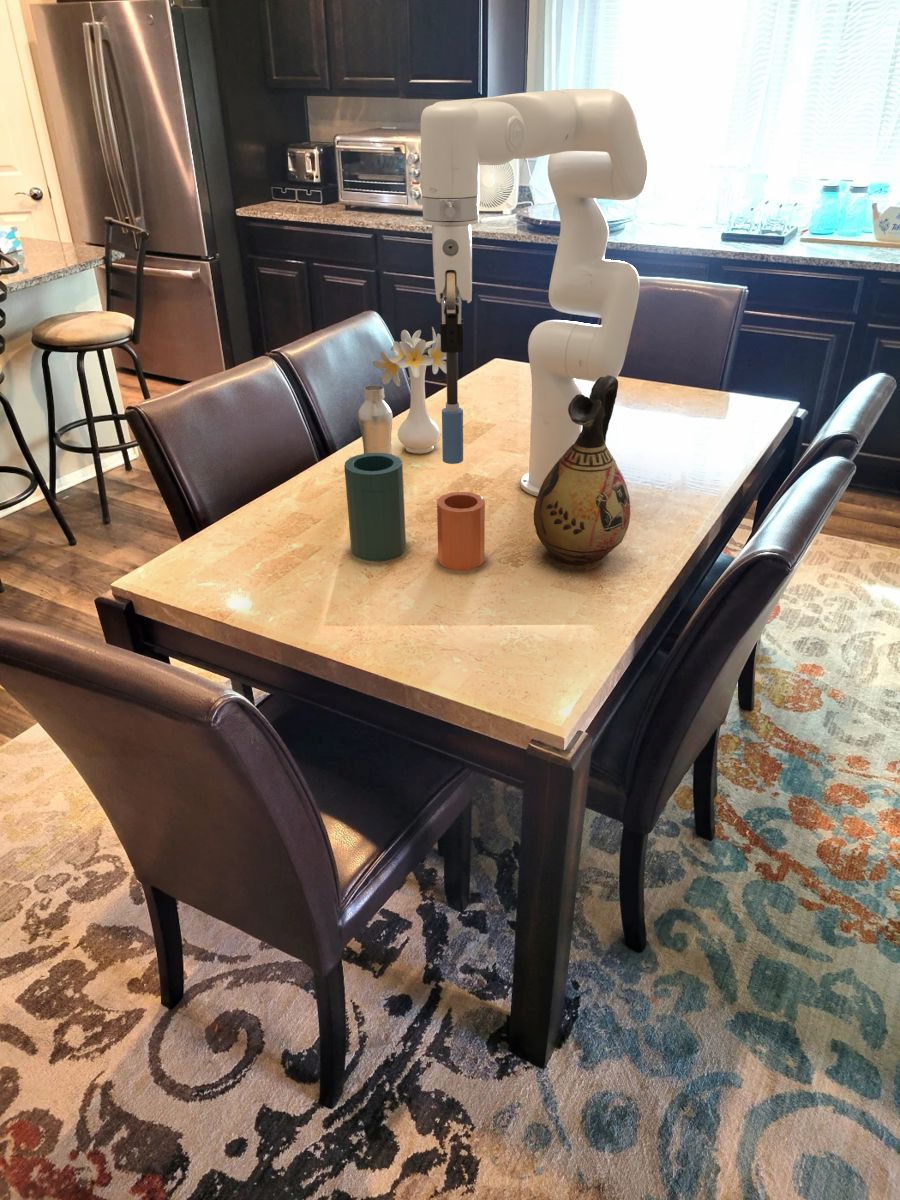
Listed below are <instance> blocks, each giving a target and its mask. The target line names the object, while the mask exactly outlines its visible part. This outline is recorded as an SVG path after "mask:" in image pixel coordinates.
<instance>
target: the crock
mask: <svg viewBox="0 0 900 1200" xmlns="http://www.w3.org/2000/svg"><path fill="white" fill-rule="evenodd" d="M436 524H437V526H436V527H437V562H438V563H439V565H440V566H442V567H443V568H446V569H448V570H453V571H469V570H474V569H477V568H479V567H480V566H482V565H483V564H484V562H485V541H486V539H485V537H486V535H485V531H486V529H485V527H486V501H485V498H484V497H483V496H481V495H480V494H477V493H474V492H470V491H469V492H468V491H454V492H449V493H445V494H442V495H441V496H440V497H438V498H437V499H436Z"/></svg>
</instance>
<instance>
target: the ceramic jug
mask: <svg viewBox="0 0 900 1200" xmlns="http://www.w3.org/2000/svg"><path fill="white" fill-rule="evenodd" d="M618 389H619V380H618V378H615V377H613V376H610V375H607V376H606V377H600V378H599V379H598V380H597V381H596V382H594V383H593V385H592V387H591V390H590V391H591V392H590V394H589V397H588V396H585V395H584V394H583V393H582V394H578V395H576V396H575V397H574V398H573V399H572V401H571V403H570V404H569V407H568V413H569V416H570V418H571V420H572V421H573V422H574V423H576V424H579V425H581V433H580V434H579V437H578V438H577V440H576V442H575V443H574V444H573V445H572V446H571V447H570V448H569V449H568V450H567V451H566V452H565V454H564V455H563V456H562V457H561V458H560V459H559V461H558V462H557V463H556V464H555V465H554V467H553V468H552V469H551V471H550V472H549V473H548V475H547V476H546V478H545V480H544V481H543V483H542V486H541V488H540V491H539V493H538V496H536V500H535V504H534V508H533V525H534V528H535V532H536V535H537V537H538V539H539V541H540V542H541V543H542V545H543V548H545V550H546V552H547V553H548V558H550V559H551V560H552V561H554V563H556V564H558V565H560V566H564V567H568V568H584V571H586V570H592V569H594V568H596V567H598V566H600V565H601V564H602V563H603V560H604V559H605V558H606V557H607V556H608V555H609V554H610V553H611V552H613V550H614V549H616V548H617V547H618V546H619V545H620V544H621V543H622V542H623V540H624V538H625V536H626V534H627V531H628V529H629V525H630V520H631V498H630V494H629V490H628V485H627V483H626V480H625V478H624V476H623V474H622V471H621V470H620V468H619V466H618V464H617V461H616V460H615V458H614V456H613V455H612V453H611V451H610V450H609V447H608V446H607V444H606V442H607V434H608V431H609V426H610V422H611V419H612V416H613V411H614V407H615V405H616V399H617V396H618Z"/></svg>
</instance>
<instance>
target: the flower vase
mask: <svg viewBox="0 0 900 1200" xmlns="http://www.w3.org/2000/svg"><path fill="white" fill-rule="evenodd" d="M431 330H432V332H431V333H432V340H430V341H426V340H425V339H422V338H421V337H420V336H421V334H422V330H421V329H418V330H416V331H415V332H414V333H413V335H412V336H411V335H410V333H409V331H408V330H407V329H403V330H401V333H400V340H401V341H396V340H395V341H394V342H393V344H392V346H391V347H390V351H391V352H394V353H395V354H394V355H392V356H391V357H389V356H388V355H387V354H386V353H385V352H384V351H381V352H380V358H381V360H373V361H372V365H373V367H375V368H376V369H378V370H380V371H383V373H382V374H381V382H382V383H383V385H389V383H390V381H393V383H394V385H396V387H399V388H400V387H401V379H400V376H399V372H400V371H401V369H407V370H408V375H409V383H410V403H409V411H408V414H407V417H406V419H404V421H403V422H402V423H401V424H400V426H399V428H398V429H397V430H398V431H397V439H398V440H399V441H398V442H400V443H401V445H403V446H404V447H405V451H407V453H411V454H416V455H417V454H418V455H421V454H427V453H430V452H432V451H433V450H434V448H435V446H436V444H437V443H438V442H439V441H440V439H441V437H442V431H441V429H440V427H439V425H438V424H437V422H435V420H434V419H433V418H432V417H431V416H430V414H429V411H428V408H427V407H428V406H427V402H426V401H427V399H426V387H425V386H426V384H425V381H426V380H425V379H426V371H427V370H426V369H427V366H431V368H432V369H431V370H432V374H433V375H437V374H438V372H439V369H440V370H441V371H442V372H443V373H444V374H446V375H447V367H446V361H445V360H446V353H443V352H441V333H437V334H436V331H435V329H434V326H431ZM426 353H427V354H428V355H427V354H426Z"/></svg>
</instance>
